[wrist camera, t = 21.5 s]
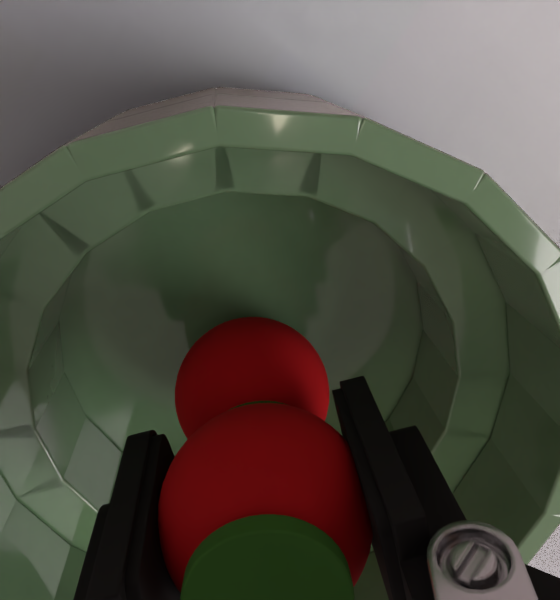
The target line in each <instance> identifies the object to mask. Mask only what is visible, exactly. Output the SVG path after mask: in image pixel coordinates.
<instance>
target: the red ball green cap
mask: <svg viewBox="0 0 560 600" xmlns="http://www.w3.org/2000/svg"><path fill="white" fill-rule="evenodd" d="M256 403H277V404H285V405H289V406H294V407H297V408H300V409H303V410H306V411H308V412H310V413H312V414H314V415H316V416H318V417H319V418H321V419H322V420H324V421H325V419H326V416H327V411H328V406H329V383H328V377H327V373H326V370H325V367H324V365H323V362H322V360H321V358H320V356H319V354H318V353H317V351H316V350H315V349H314V347H313V346H312V345H311V343H310V342H309V341H308V340H307V339H306V338H305V337H304V336H303V335H301V334H300V333H299V332H297V331H296V330H295V329H293V328H292V327H290V326H288V325H286V324H284V323H281V322H279V321H276V320H273V319H269V318H263V317H243V318H237V319H233V320H229V321H226V322H224V323H222V324H219V325H217V326H216V327H214V328H212V329H211V330H209V331H208V332H206V333H205V334H204V335H203V336H201V337H200V338H199V339H198V340H197V341H196V342H195V343H194V345H193V346H192V347H191V349H190V350H189V351H188V353H187V354H186V356H185V358H184V360H183V362H182V364H181V366H180V369H179V372H178V375H177V380H176V386H175V407H176V413H177V417H178V420H179V423H180V426H181V428H182V430H183V432H184V434H185V436H186V438H187V439H188V438H189V437H190V436H191V435H192V434H193V433H194V432H195V431H196V430H197V429H199V428H200V427H201V426H203V425H204V424H205V423H207V422H208V421H209V420H211V419H212V418H214V417H216V416H218V415H219V414H221V413H223V412H226V411H228V410H231V409H233V408H236V407H240V406H244V405H249V404H256Z"/></svg>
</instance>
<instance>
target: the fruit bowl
mask: <svg viewBox="0 0 560 600" xmlns="http://www.w3.org/2000/svg"><path fill="white" fill-rule="evenodd" d="M243 317H263V318H269V319H273V320H276V321H279V322H281V323H284V324H286V325H288V326H290V327H292V328H293V329H295V330H296V331H297V332H299V333H300V334H301V335H303V336H304V337H305V338H306V339H307V340H308V341H309V342H310V343H311V345H312V346H313V347H314V349H315V350H316V351H317V353H318V354H319V356H320V358H321V360H322V362H323V365H324V367H325V370H326V373H327V377H328V383H329V406H328V411H327V416H326V419H325V422H326V423H328V424H329V425H331V426H332V427H333V428H334V429H335V430H337V431H338V432H339V433H340V434H341V435H342V432H341V427H340V423H339V419H338V415H337V410H336V406H335V402H334V398H333V393H332V390H335V389H339V388H341V387H340V381H344V380H348V379H352V378H356V377H359V376H364V377H365V379H366V382H367V384H368V386H369V388H370V391H371V393H372V395H373V397H374V400H375V402H376V404H377V406H378V409H379V411H380V413H381V415H382V418H383V420H384V422H385V424H386V427H387V429H388V431H389V432H390V431H394V430H398V429H402V428H406V427H410V426H414V425H415V426H416V427H417V428H418V429H419V431H420V433H421V435H422V437H423V438H424V440H425V442H426V444H427V446H428V448H429V450H430V452H431V454H432V455H433V457H434V459H435V461H436V463H437V465H438V467H439V469H440V471H441V472H442V474H443V476H444V478H445V480H446V482H447V484H448V486H449V488H450V490H451V491H452V493H453V495H454V497H455V499H456V501H457V503H458V505H459V507H460V508H461V510H462V512H463V514H464V516H465V518H466V520H473V521H480V522H484V523H487V524H491V525H492V526H494V527H496V528H498V529H500V530H502V531H503V532H504V533H505V534H506V535H508V536H509V537H510V538H511V539H512V540H513V541H514V543H515V545H516V547H517V548H518V550H519V552H520V554H521V556H522V559H523V562H524V564H526V565H528V563H529V562H530V561H531V560H532V558H533V557H534V556H535V555H536V553H537V552H538V551H539V550H540V548H541V547H542V546H543V544H544V543H545V542H546V541H547V539H548V538H549V537H550V536H551V534H552V533H553V532H554V531H555V529H556V528H557V527H558V526H559V524H560V248H559V247H558V246H557V245H556V244H555V243H554V242H553V241H552V240H551V238H550V237H549V236H548V235H547V234H546V233H545V232H544V231H543V230H542V229H541V228H540V227H539V226H538V225H537V224H536V223H535V222H534V221H533V220H532V219H531V218H530V217H529V216H528V215H527V214H526V213H525V212H524V211H523V210H522V209H521V208H520V207H519V206H518V205H517V204H516V203H515V201H514V200H513V199H512V198H511V197H510V196H509V195H508V194H507V193H506V192H505V191H504V190H503V189H502V188H501V187H500V186H499V185H498V184H497V183H496V182H495V181H494V180H493V179H492V178H491V177H490V176H489V175H488V174H487V173H485V172H484V171H483V170H482V169H480V168H477V167H475V166H473V165H471V164H468V163H466V162H464V161H462V160H460V159H457V158H455V157H453V156H451V155H448V154H446V153H444V152H442V151H440V150H437V149H435V148H433V147H431V146H428V145H426V144H424V143H422V142H419V141H417V140H415V139H413V138H411V137H408V136H406V135H404V134H402V133H399V132H397V131H395V130H393V129H391V128H388V127H386V126H384V125H382V124H379V123H377V122H375V121H373V120H371V119H368V118H366V117H364V116H361V115H359V114H356V113H354V112H352V111H349V110H347V109H344V108H342V107H340V106H337V105H335V104H332V103H330V102H328V101H325V100H323V99H320V98H318V97H316V96H311V95H309V94H302V93H290V92H278V91H266V90H253V89H241V88H229V87H217V89H216V88H209V89H205V90H201V91H197V92H194V93H190V94H186V95H182V96H178V97H174V98H171V99H167V100H163V101H159V102H155V103H152V104H148V105H144V106H140V107H136V108H133V109H129V110H127V111H125V112H123V113H120V114H118V115H116V116H114V117H113V118H111V119H109V120H107V121H105V122H104V123H102V124H100V125H98V126H96V127H94V128H93V129H91V130H89V131H87V132H85V133H84V134H82V135H80V136H78V137H77V138H75V139H73V140H71V141H69V142H68V143H66V144H64V145H62V146H61V147H59V148H58V149H56V150H55V151H53V152H52V153H50V154H49V155H48V156H46V157H45V158H43V159H42V160H40V161H39V162H37V163H36V164H35V165H33V166H32V167H30V168H29V169H27V170H26V171H24V172H23V173H22V174H20V175H19V176H17V177H16V178H14V179H13V180H11V181H10V182H9V183H7V184H6V185H4V186H3V187H1V188H0V600H73V599H74V595H75V592H76V588H77V584H78V581H79V577H80V574H81V570H82V567H83V563H84V559H85V556H86V552H87V549H88V545H89V542H90V538H91V534H92V531H93V527H94V524H95V520H96V517H97V513H98V511H99V509H100V507H101V506H102V505H104V504H108V503H110V501H111V497H112V493H113V489H114V485H115V482H116V478H117V474H118V470H119V466H120V462H121V458H122V454H123V451H124V447H125V443H126V439H127V437H128V436H129V435H133V434H137V433H141V432H145V431H149V430H155V431H156V433H157V434H158V435H160V434H165V435H166V437H167V439H168V441H169V444H170V446H171V449H172V451H173V454H174V456H176V454H177V453H178V451H179V450H180V448H181V447H182V446H183V445H184V443H185V442H186V441H187V440H188V439H187V438H186V436H185V434H184V432H183V430H182V428H181V426H180V423H179V420H178V417H177V413H176V407H175V386H176V380H177V375H178V372H179V369H180V366H181V364H182V362H183V360H184V358H185V356H186V354H187V353H188V351H189V350H190V349H191V347H192V346H193V345H194V343H195V342H196V341H197V340H198V339H199V338H200V337H201V336H203V335H204V334H205V333H206V332H208V331H209V330H211V329H212V328H214V327H216V326H217V325H219V324H222V323H224V322H226V321H229V320H233V319H237V318H243ZM354 595H355V597H354V600H389V598H388V595H387V592H386V588H385V585H384V582H383V579H382V575H381V572H380V569H379V566H378V562H377V559H376V556H375V553H374V549H373V546H372V543H371V548H370V553H369V556H368V559H367V562H366V564H365V567H364V569H363V571H362V574H361V575H360V577H359V579H358V581H357V583H356V584H355V586H354Z"/></svg>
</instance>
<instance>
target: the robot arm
mask: <svg viewBox="0 0 560 600" xmlns="http://www.w3.org/2000/svg"><path fill="white" fill-rule="evenodd" d="M340 387H341V388H339V389H335V390H332V393H333V398H334V402H335V406H336V410H337V415H338V419H339V423H340V427H341V432H342V436H343V438H344V439H345V440H346V441H347V443H348V445H349V447H350V450H351V453H352V456H353V459H354V463H355V466H356V469H357V473H358V476H359V480H360V483H361V487H362V491H363V494H364V498H365V502H366V506H367V510H368V514H369V518H370V522H371V526H372V532H373V538H372V546H373V549H374V553H375V556H376V559H377V562H378V566H379V569H380V572H381V575H382V579H383V582H384V585H385V588H386V592H387V595H388V598H389V600H560V578H558V577H555V576H553V575H550V574H548V573H545V572H543V571H541V570H538V569H536V568H533V567H531V566H528V565H526V564H524V562H523V559H522V556H521V554H520V552H519V550H518V548H517V547H516V545H515V543H514V541H513V540H512V539H511V538H510V537H509V536H508V535H506V534H505V533H504V532H503V531H502V530H500V529H498V528H496V527H494V526H492V525H491V524H487V523H484V522H480V521H473V520H466V518H465V516H464V514H463V512H462V510H461V508H460V507H459V505H458V503H457V501H456V499H455V497H454V495H453V493H452V491H451V490H450V488H449V486H448V484H447V482H446V480H445V478H444V476H443V474H442V472H441V471H440V469H439V467H438V465H437V463H436V461H435V459H434V457H433V455H432V454H431V452H430V450H429V448H428V446H427V444H426V442H425V440H424V438H423V437H422V435H421V433H420V431H419V429H418V428H417V427H416V426H415V425H414V426H410V427H406V428H402V429H398V430H394V431H390V432H389V431H388V429H387V427H386V424H385V422H384V420H383V418H382V415H381V413H380V411H379V409H378V406H377V404H376V402H375V400H374V397H373V395H372V393H371V391H370V388H369V386H368V384H367V382H366V379H365V377H364V376H359V377H356V378H352V379H348V380H344V381H340ZM174 458H175V456H174V454H173V451H172V449H171V446H170V444H169V441H168V439H167V437H166V435H165V434H160V435H158V434H157V433H156V431H155V430H149V431H145V432H141V433H137V434H133V435H129V436H128V437H127V439H126V443H125V447H124V451H123V454H122V458H121V462H120V466H119V470H118V474H117V478H116V482H115V485H114V489H113V493H112V497H111V501H110V503H108V504H104V505H102V506H101V507H100V509H99V511H98V513H97V517H96V520H95V524H94V527H93V531H92V534H91V538H90V542H89V545H88V549H87V552H86V556H85V559H84V563H83V567H82V570H81V574H80V577H79V581H78V584H77V588H76V592H75V595H74V599H73V600H180V596H181V593H180V592H179V590H178V589H177V587H176V586H175V584H174V582H173V580H172V579H171V577H170V575H169V572H168V570H167V567H166V564H165V561H164V557H163V554H162V550H161V544H160V538H159V529H158V503H159V498H160V493H161V489H162V485H163V482H164V479H165V477H166V474H167V472H168V469H169V467H170V464H171V463H172V461H173V459H174Z"/></svg>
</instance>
